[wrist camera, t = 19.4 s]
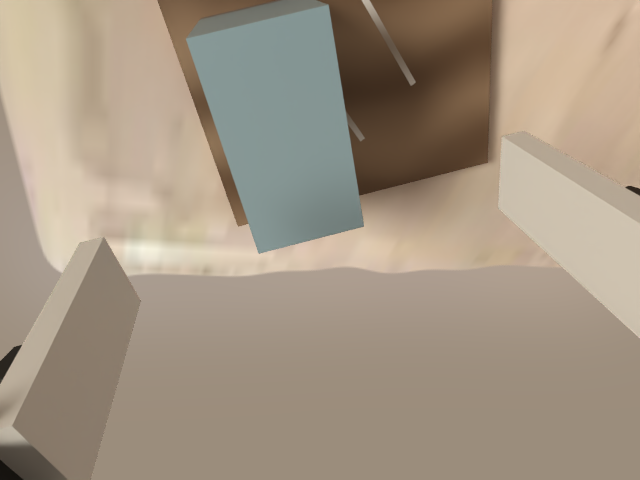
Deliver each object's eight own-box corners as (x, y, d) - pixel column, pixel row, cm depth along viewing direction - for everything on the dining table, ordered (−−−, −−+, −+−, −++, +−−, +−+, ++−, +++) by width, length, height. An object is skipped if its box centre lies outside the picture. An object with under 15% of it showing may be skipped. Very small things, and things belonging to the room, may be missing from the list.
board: (150, -34, 24) (145, -34, 23) (482, -110, 25) (496, -115, 24) (237, 217, 34) (238, 226, 32) (478, 155, 34) (487, 162, 33)
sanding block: (200, 18, 25) (185, 38, 17) (300, -6, 25) (328, 4, 17) (253, 184, 31) (258, 253, 23) (332, 164, 31) (364, 226, 24)
